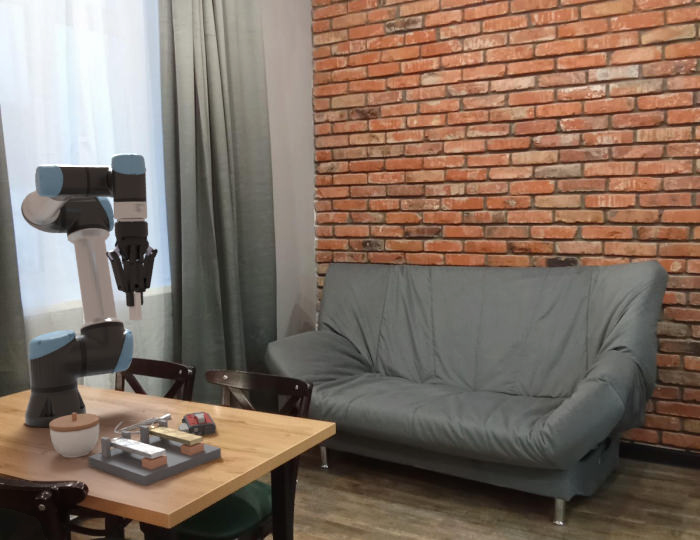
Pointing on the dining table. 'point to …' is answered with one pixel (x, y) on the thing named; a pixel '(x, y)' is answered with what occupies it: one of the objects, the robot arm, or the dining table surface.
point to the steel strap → (137, 447)
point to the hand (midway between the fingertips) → (135, 319)
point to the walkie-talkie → (198, 424)
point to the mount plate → (159, 473)
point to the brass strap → (175, 435)
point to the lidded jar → (74, 434)
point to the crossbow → (141, 424)
